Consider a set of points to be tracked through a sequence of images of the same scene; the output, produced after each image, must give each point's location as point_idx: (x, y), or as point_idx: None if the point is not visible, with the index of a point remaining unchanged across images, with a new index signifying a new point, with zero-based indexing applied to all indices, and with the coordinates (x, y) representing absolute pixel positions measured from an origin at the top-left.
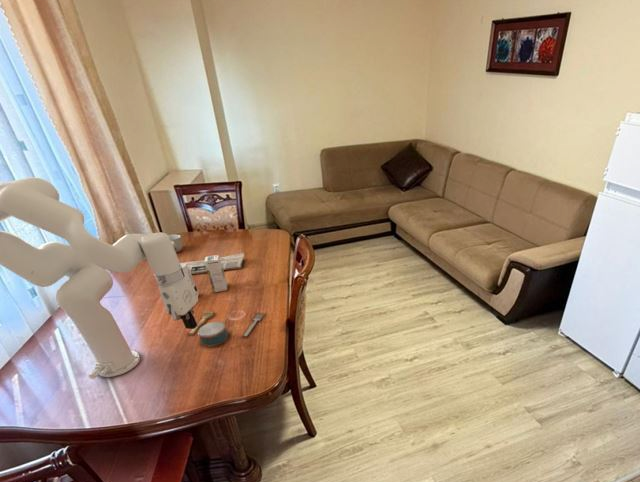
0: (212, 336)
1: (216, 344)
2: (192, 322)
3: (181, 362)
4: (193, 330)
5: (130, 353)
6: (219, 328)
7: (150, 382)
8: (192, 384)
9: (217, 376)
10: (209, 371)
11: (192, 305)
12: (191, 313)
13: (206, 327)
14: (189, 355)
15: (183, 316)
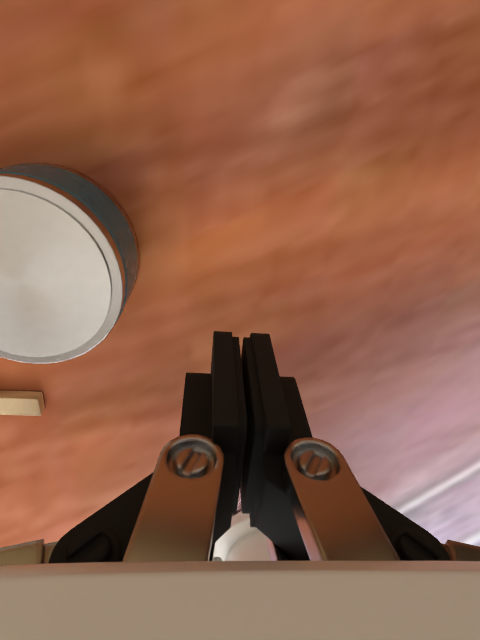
0: (108, 234)
1: (121, 210)
2: (278, 381)
3: (279, 343)
4: (13, 403)
5: (269, 556)
6: (4, 215)
7: (407, 404)
8: (475, 203)
9: (440, 64)
10: (379, 147)
11: (234, 605)
12: (220, 469)
13: (16, 323)
14: (222, 330)
15: (417, 537)
